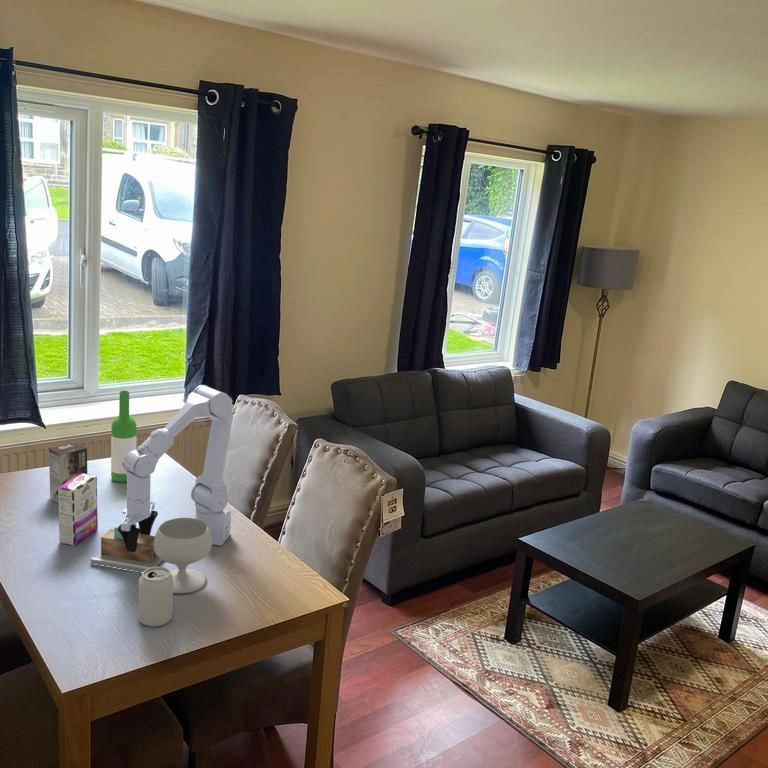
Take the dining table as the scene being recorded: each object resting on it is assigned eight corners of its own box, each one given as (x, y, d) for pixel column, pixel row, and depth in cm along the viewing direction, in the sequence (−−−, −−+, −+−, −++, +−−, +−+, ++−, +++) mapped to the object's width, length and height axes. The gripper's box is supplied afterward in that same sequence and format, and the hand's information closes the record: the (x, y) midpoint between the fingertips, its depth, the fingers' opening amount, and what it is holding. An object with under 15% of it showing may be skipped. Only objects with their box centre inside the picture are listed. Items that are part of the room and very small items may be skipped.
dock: (168, 554, 197) (168, 549, 197) (149, 574, 187) (149, 568, 186) (112, 545, 199) (112, 540, 199) (90, 564, 189) (90, 558, 188)
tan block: (160, 554, 194) (160, 537, 193) (151, 563, 189) (152, 545, 188) (110, 546, 196) (110, 529, 195) (101, 554, 191) (101, 537, 190)
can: (142, 609, 172) (143, 563, 169) (175, 611, 172) (176, 564, 169) (134, 628, 164) (135, 580, 161) (168, 629, 165) (170, 581, 162)
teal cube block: (136, 533, 194) (136, 523, 193) (128, 540, 190) (128, 529, 189) (121, 531, 194) (121, 520, 193) (114, 537, 190) (114, 527, 189)
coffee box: (76, 490, 231) (76, 441, 227) (88, 496, 227) (88, 447, 223) (48, 498, 224) (48, 448, 220) (60, 504, 220) (60, 454, 216)
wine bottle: (140, 480, 243) (141, 393, 236) (118, 485, 238) (118, 396, 230) (128, 472, 248) (129, 387, 241) (106, 477, 243) (107, 390, 235)
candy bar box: (82, 526, 208) (81, 472, 204) (98, 529, 207) (98, 475, 203) (57, 543, 198) (56, 486, 194) (74, 546, 197) (73, 489, 193)
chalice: (211, 568, 193) (214, 515, 189) (208, 597, 179) (211, 541, 176) (156, 568, 190) (157, 515, 186) (149, 597, 177) (150, 540, 173)
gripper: (137, 483, 196) (136, 530, 199) (109, 505, 182) (109, 554, 185) (162, 487, 195) (161, 534, 198) (136, 509, 181) (136, 559, 184)
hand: (138, 544), depth 192 cm, fingers open, 7 cm apart
